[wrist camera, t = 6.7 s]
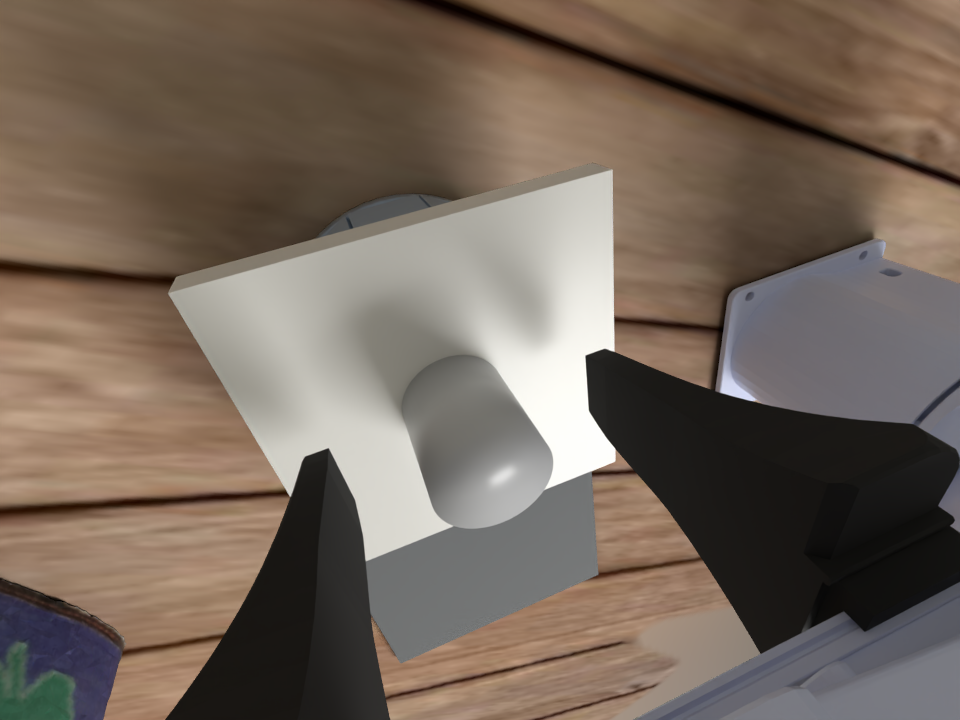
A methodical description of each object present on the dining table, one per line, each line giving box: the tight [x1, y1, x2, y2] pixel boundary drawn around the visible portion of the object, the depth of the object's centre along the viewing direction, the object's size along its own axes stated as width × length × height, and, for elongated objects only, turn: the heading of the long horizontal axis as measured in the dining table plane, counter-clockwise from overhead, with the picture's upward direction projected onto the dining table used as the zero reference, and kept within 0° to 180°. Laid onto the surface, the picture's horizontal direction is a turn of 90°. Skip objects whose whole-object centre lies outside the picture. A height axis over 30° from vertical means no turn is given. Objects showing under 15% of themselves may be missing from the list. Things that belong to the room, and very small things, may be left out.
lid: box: [168, 163, 615, 561], centre depth 14 cm, size 11×11×4 cm
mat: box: [366, 471, 598, 663], centre depth 27 cm, size 14×15×1 cm
